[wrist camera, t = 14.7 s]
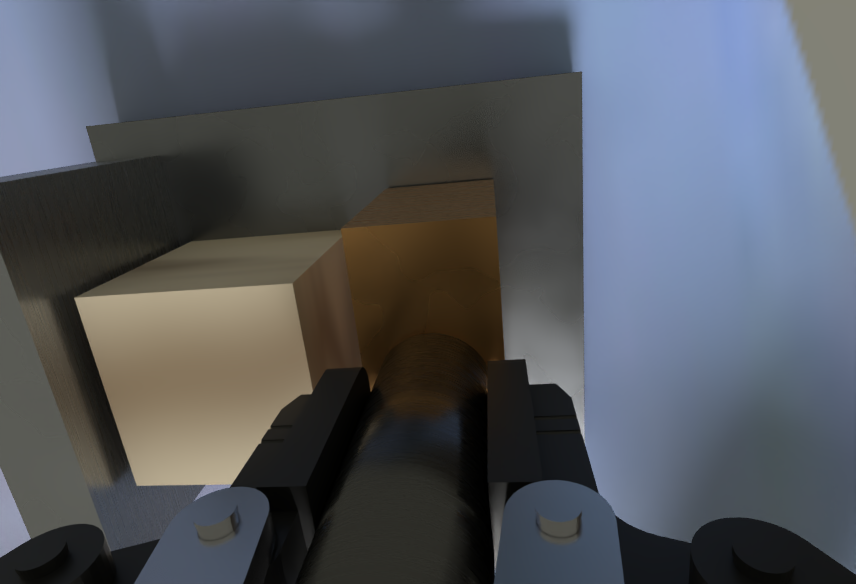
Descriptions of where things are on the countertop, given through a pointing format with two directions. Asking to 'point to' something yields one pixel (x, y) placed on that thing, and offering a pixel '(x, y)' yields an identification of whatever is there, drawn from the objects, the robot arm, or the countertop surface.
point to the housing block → (217, 347)
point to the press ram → (418, 393)
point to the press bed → (261, 216)
